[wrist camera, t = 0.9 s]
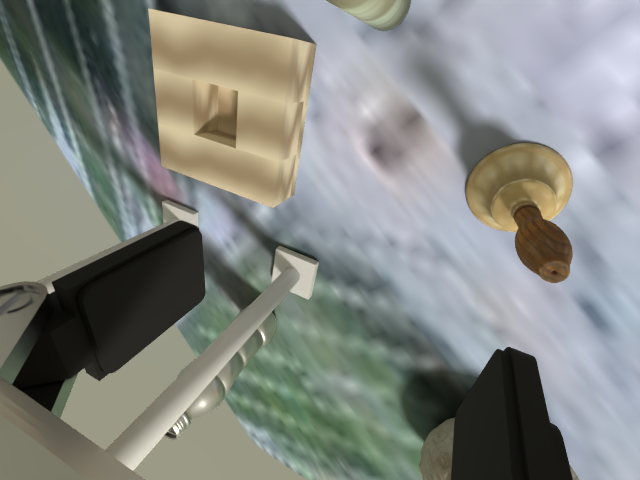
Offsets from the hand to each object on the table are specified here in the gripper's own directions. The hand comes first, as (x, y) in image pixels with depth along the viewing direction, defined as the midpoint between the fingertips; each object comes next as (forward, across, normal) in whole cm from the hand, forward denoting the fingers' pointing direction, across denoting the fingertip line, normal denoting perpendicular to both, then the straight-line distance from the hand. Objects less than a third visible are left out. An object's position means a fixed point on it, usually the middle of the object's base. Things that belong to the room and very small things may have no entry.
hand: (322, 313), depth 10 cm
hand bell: (+26, -9, +2) cm, 27 cm away
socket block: (+26, +21, 0) cm, 33 cm away
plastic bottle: (+25, +16, +31) cm, 43 cm away
